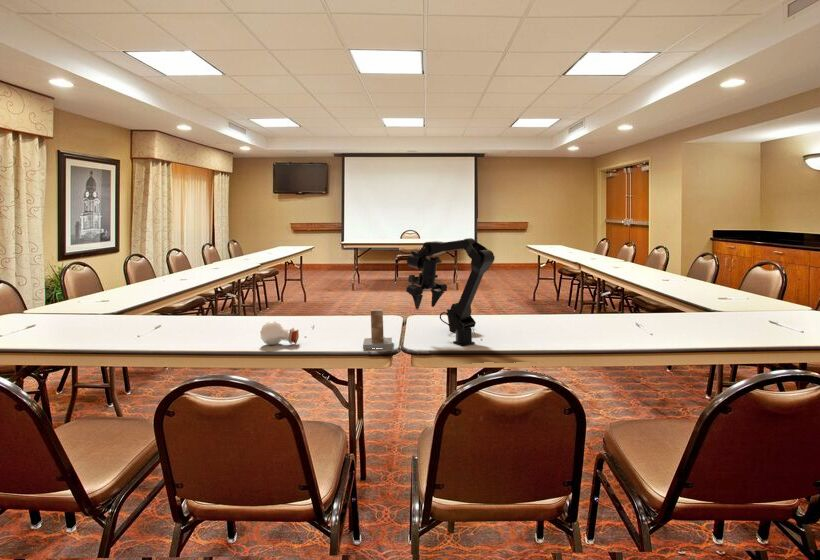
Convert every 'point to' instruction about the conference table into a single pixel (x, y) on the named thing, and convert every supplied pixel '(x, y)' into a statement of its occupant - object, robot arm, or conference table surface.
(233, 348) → the conference table surface
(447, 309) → the coffee mug
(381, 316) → the walnut block
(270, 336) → the potion bottle
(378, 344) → the slate slab
